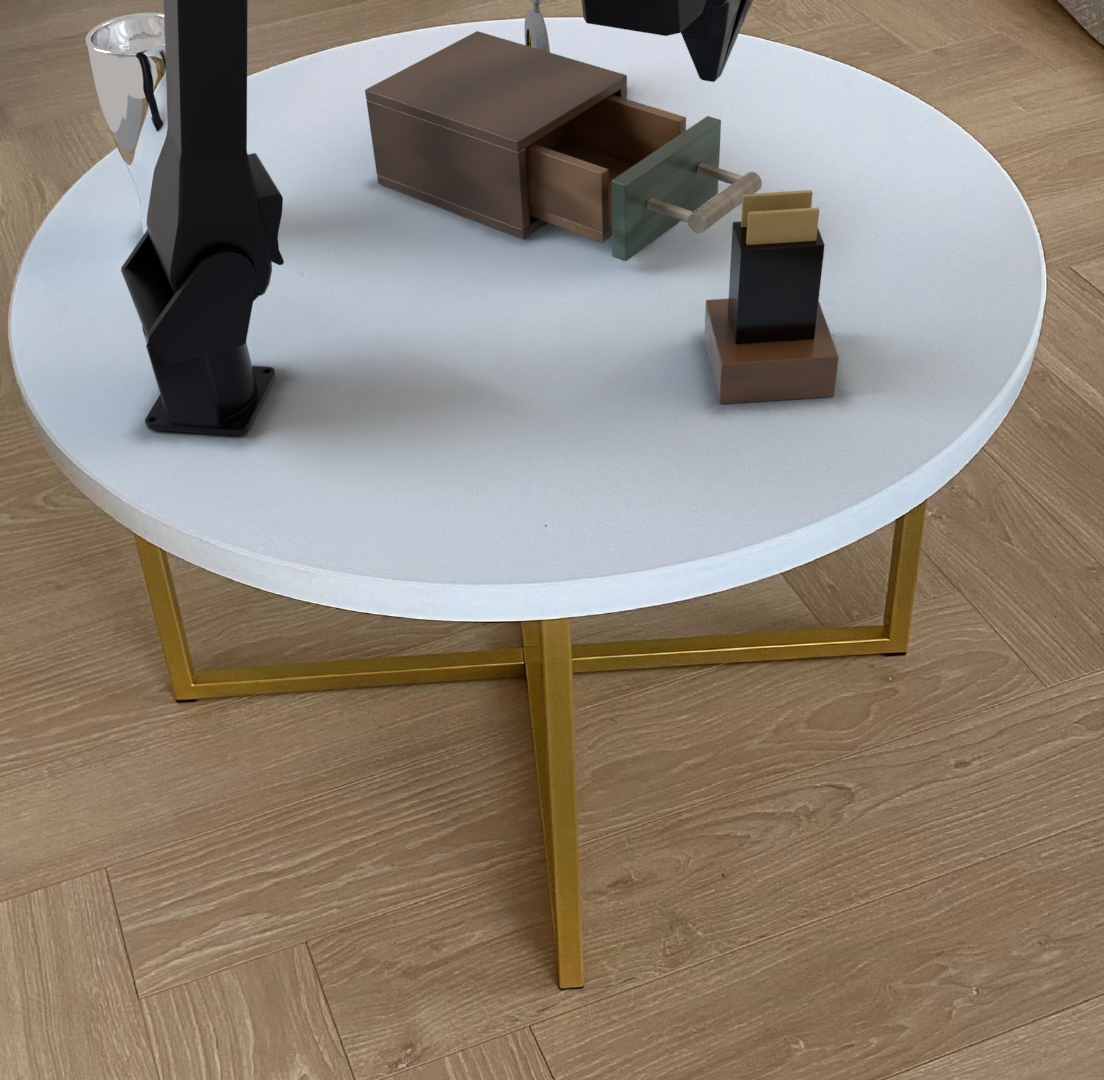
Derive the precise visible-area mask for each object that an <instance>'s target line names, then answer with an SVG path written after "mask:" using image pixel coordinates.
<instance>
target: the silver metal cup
mask: <svg viewBox="0 0 1104 1080" xmlns="http://www.w3.org/2000/svg"><path fill="white" fill-rule="evenodd" d="M85 43H86V47H87V51H88V57H89V62H90V67H91V72H92V77H93V81H94V87H95V90H96V94H97V98H98V102H99V105H100V108H101V111H102V115H103V117H104V121H105V123H106V125H107V127H108V130H109V133H110V135H111V137H112V139H113V142H114V144H115V146H116V148H117V151H118V152H119V154H120V156H121V158H122V160H123V162H124V164H125V167H126V169H127V171H128V173H129V175H130V177H131V179H132V181H133V184H134V186H135V189H136V192H137V195H138V199H139V204H140V209H141V210H140V211H141V223H142V233H143V235H144V234H145V232H146V231H147V229H148V228H147V213H148V206H149V200H150V193H151V186H152V180H153V173H154V169H155V166H156V163H157V161H158V158H159V155H160V152H161V150H162V147H163V144H164V142H165V139H166V135H167V128H168V118H167V88H166V57H165V26H164V12H163V13H162V12H137V13H132V14H131V13H130V14H126V15H121V16H117V17H114V18H111V19H109V20H106V21H104V22H100V23H99V24H97V25H95V26H94V27H93V28H92V29H90V30H89V32H87V34H86V36H85Z"/></svg>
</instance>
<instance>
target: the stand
mask: <svg viewBox="0 0 1104 1080" xmlns="http://www.w3.org/2000/svg"><path fill="white" fill-rule="evenodd" d="M728 300H729V297H728V298H715V299H713V298H712V299H706V300H705V312H704V313H705V314H704V315H705V316H704V334H703V335H704V337H703V339H704V343H705V347H706V351H707V356H708V360H709V365H710V370H711V373H712V377H713V381H714V386H715V390H716V394H717V395H716V396H717V398H718V399H717V400H718V403H719V404H720V405H726V404H738V403H739V404H740V403H742V404H743V403H754V402H757V403H758V402H770V401H771V402H772V401H787V400H800V399H801V400H802V399H803V400H804V399H816V398H817V399H819V398H832V397H833V398H834V396H835V390H836V382H837V374H838V366H839V354H838V351H837V348H836V345H835V342H834V339H833V337H832V334H831V331H830V329H829V325H828V323H827V320H826V317H825V314H824V311H823V309H822V306H821V303H820V300H819V301H818V311H817V320H816V329H815V338H814V339H809V340H793V341H777V342H762V343H746V344H735V341H734V337H733V333H732V329H731V325H730V322H729V318H728Z"/></svg>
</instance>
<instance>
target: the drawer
mask: <svg viewBox="0 0 1104 1080" xmlns="http://www.w3.org/2000/svg"><path fill="white" fill-rule="evenodd" d="M721 133H722V119H720V118H717V117H712V116H710V115H707V116H705V117H703V118H702V119H701V120H699V121H698V122H696V123H695V124H693V125H691V126H690V127H689V128H687V117H686V116H683V115H680V114H677V113H674V112H671V111H668V110H664V109H661V108H658V107H655V106H650V105H647V104H644V103H640V102H638V101H634V100H631V99H628V98H627V99H625V98H621V97H618V96H615V95H610V96H608V97H607V98H605V99H604V100H602V101H600V102H599V103H597V104H595V105H594V106H592V107H591V108H589V109H587V110H586V111H584V112H582V113H581V114H579V115H578V116H576V117H574V118H573V119H571V120H569V121H568V122H566V123H565V124H563V125H561V126H560V127H558V128H556V129H555V130H553V131H552V132H550V133H548V134H547V135H545V136H543V137H542V138H540V139H539V140H537V141H535V142H534V143H532V144H530V145H529V146H527V147H525V154H526V171H527V188H528V205H529V216H532V217H535V218H538V219H540V220H543V221H546V222H548V224H551V225H554V226H557V227H559V228H562V229H565V230H568V231H570V232H572V233H576V234H578V235H581V236H583V237H586V238H589V239H591V240H595V241H597V242H600V243H605V242H606V241H608V240H609V239H610V238H611V256H612V258H616V259H618V260H620V261H623V262H627V261H629V260H630V259H631V258H633V257H634V256H635V255H637V254H638V253H640V252H642V251H643V250H644V249H645V248H647V247H648V246H649V245H650V244H652V243H653V242H655V241H656V240H658V239H659V238H660V237H661V236H663V235H664V234H665V233H667V232H668V231H669V230H671V229H672V228H673V227H675V226H677V224H679V223H680V222H685V223H687V224H688V227H689V229H690V231H692V232H693V233H695V234H703V233H704V232H705V231H707V230H708V229H709V228H711V227H712V226H713V225H715V224H716V223H717V222H718V221H720V220H722V218H724V217H726V216H727V215H728V214H729V213H730V212H732V211H734V209H736V208H737V207H738V206H740V205H742V196H743V194H756V193H757V192H758V191H759V190H761V189H762V185H763V181H762V178H761V176H760V175H759V174H757V173H756V172H755V171H749V172H747V173H745V174H744V175H741V174H738V173H734V172H733V171H729V170H726V169H723V168H720V157H721V156H720V155H721ZM719 181H720V182H723V183H726V184H729V186H728V187H726V188H725V189H724V190H722V191H721V192H720V193H719Z"/></svg>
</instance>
